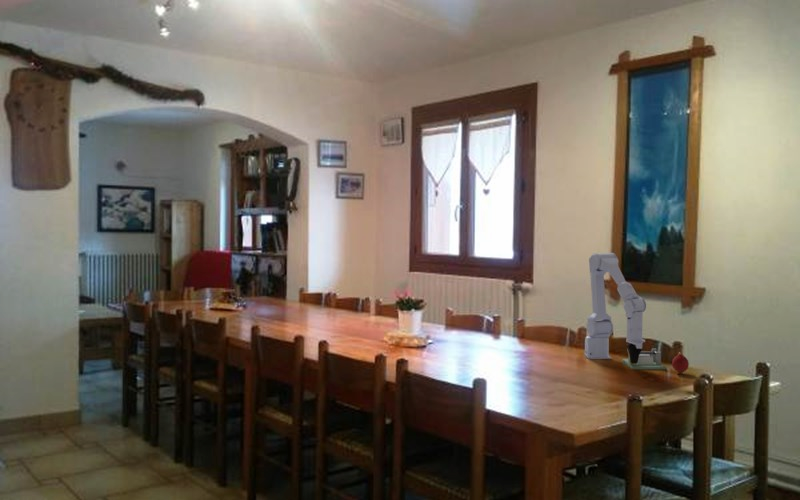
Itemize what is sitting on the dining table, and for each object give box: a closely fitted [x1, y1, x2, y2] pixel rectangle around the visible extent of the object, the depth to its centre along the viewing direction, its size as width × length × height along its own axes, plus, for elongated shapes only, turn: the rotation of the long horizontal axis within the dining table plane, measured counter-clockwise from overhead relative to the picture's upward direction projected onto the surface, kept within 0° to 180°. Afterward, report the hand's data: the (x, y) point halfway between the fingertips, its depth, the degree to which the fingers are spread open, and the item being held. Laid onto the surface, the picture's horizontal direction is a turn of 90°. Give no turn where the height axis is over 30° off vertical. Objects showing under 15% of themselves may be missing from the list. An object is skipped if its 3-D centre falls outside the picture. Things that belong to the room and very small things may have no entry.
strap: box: [627, 350, 657, 355], centre depth 268 cm, size 11×4×1 cm, turn 86°
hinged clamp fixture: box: [621, 348, 666, 371], centre depth 268 cm, size 13×14×6 cm
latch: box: [626, 348, 636, 365], centre depth 267 cm, size 2×4×5 cm, turn 176°
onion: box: [671, 351, 690, 374], centre depth 255 cm, size 6×6×8 cm
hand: (634, 363), depth 264 cm, fingers closed
